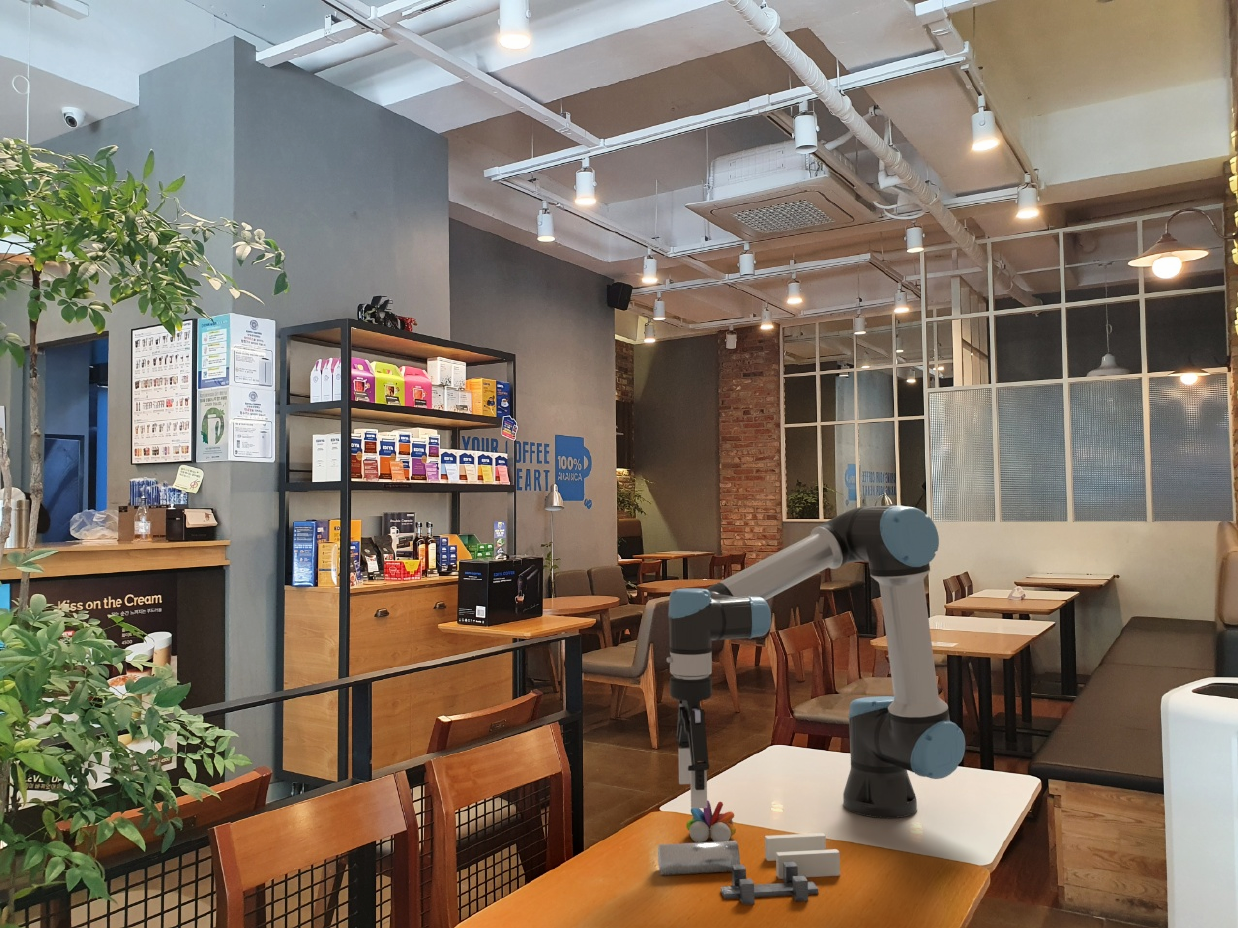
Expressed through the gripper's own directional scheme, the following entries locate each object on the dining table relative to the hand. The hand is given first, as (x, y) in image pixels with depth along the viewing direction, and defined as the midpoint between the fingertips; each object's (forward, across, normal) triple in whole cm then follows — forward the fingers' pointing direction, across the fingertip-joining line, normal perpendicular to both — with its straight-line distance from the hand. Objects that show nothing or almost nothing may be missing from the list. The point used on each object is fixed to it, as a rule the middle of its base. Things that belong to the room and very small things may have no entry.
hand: (692, 795), depth 164 cm
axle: (+11, -1, +1) cm, 11 cm away
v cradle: (+14, +10, +11) cm, 20 cm away
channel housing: (+13, 0, +20) cm, 24 cm away
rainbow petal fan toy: (+14, -16, +6) cm, 22 cm away
